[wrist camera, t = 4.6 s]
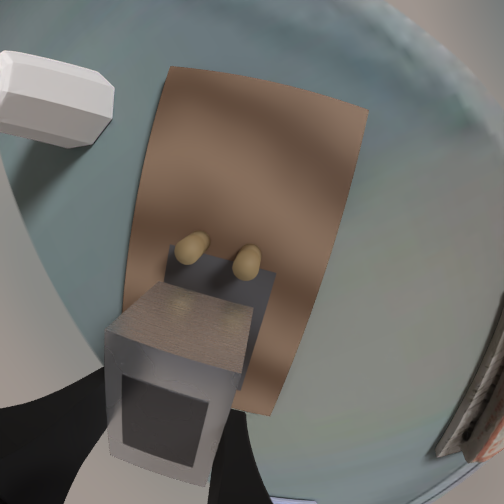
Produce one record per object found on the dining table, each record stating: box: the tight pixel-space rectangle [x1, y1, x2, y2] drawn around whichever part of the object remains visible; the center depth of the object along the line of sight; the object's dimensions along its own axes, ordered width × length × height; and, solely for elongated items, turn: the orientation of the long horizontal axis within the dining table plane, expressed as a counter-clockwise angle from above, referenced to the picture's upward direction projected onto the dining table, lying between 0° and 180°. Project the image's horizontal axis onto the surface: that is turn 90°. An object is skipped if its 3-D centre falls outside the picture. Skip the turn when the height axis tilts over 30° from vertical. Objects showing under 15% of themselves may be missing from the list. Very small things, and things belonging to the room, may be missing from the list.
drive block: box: [104, 281, 254, 487], centre depth 12 cm, size 7×4×5 cm, turn 166°
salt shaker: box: [0, 50, 115, 149], centre depth 11 cm, size 5×5×11 cm
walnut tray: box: [122, 66, 369, 416], centre depth 16 cm, size 20×11×4 cm, turn 166°
